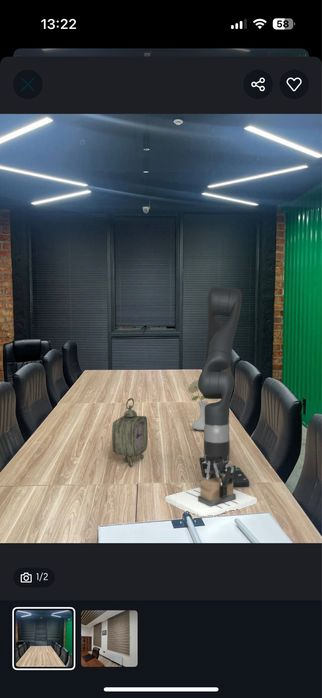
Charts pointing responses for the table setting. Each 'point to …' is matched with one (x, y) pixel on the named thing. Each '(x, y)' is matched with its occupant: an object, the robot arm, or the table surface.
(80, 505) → the table surface
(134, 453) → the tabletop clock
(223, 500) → the sanding block
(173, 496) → the board
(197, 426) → the flower in vase
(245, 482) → the disk drive
